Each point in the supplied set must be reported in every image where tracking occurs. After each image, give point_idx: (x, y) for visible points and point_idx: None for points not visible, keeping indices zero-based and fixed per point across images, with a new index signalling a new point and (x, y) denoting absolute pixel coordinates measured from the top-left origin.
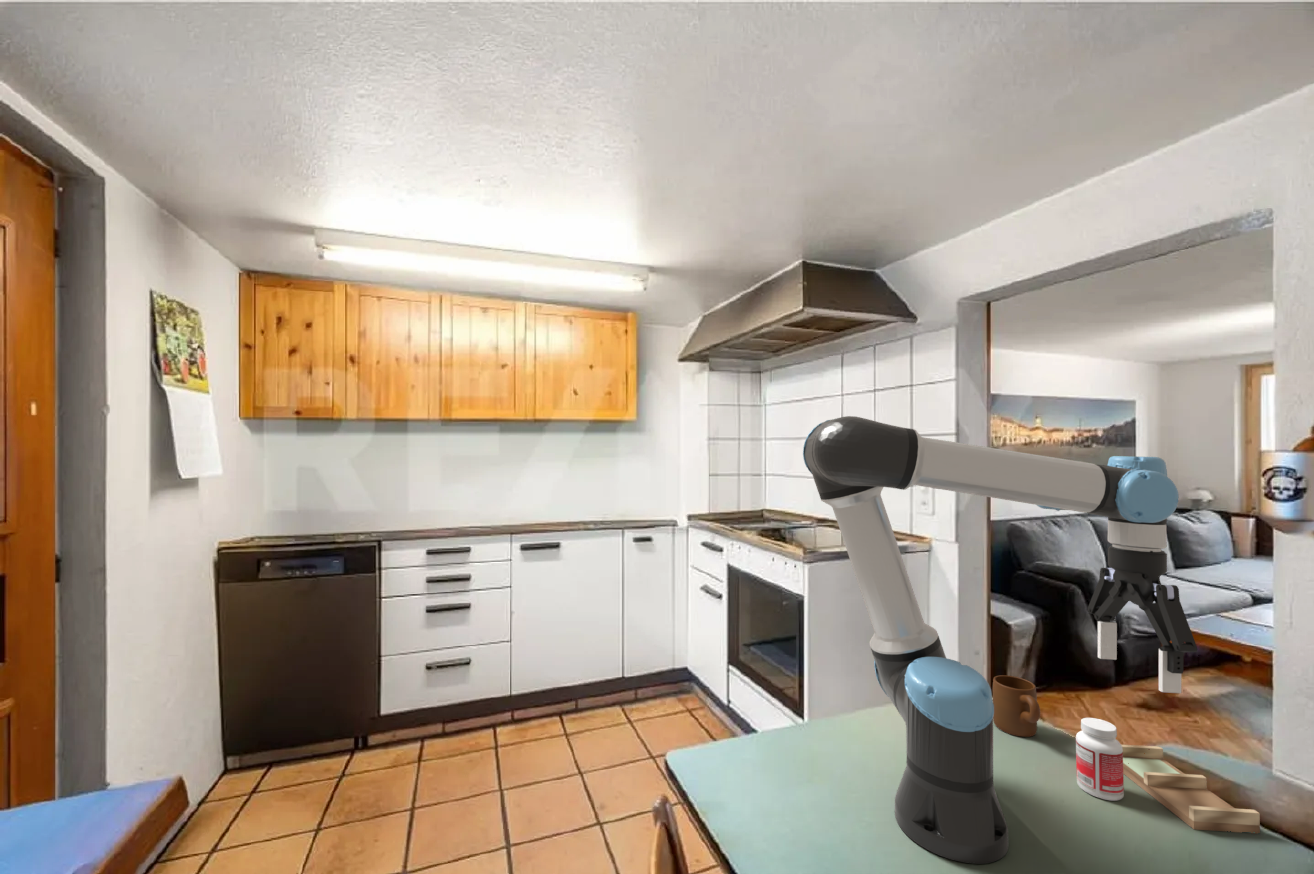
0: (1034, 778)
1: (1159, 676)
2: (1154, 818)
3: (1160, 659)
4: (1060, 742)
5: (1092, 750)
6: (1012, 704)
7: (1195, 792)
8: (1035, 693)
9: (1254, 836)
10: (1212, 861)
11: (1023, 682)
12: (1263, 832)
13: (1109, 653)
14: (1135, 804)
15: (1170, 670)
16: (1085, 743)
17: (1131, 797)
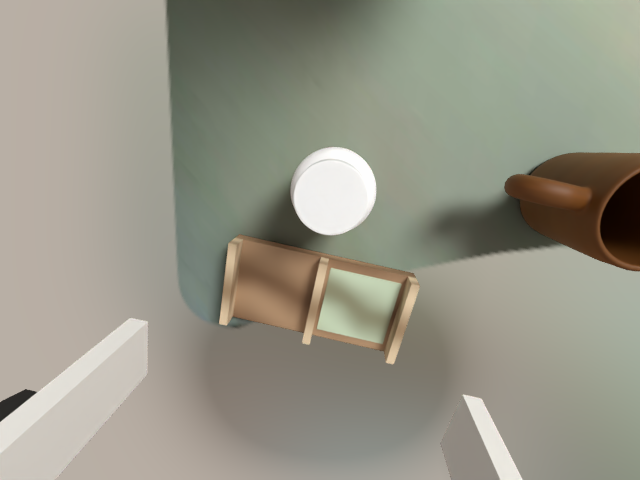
0: (386, 85)
1: (102, 356)
2: (264, 202)
3: (14, 427)
4: (485, 244)
5: (311, 153)
6: (586, 171)
7: (298, 309)
8: (586, 244)
9: None
10: (179, 192)
11: None
12: None
13: (458, 446)
14: None
15: (29, 398)
16: (325, 149)
17: None
